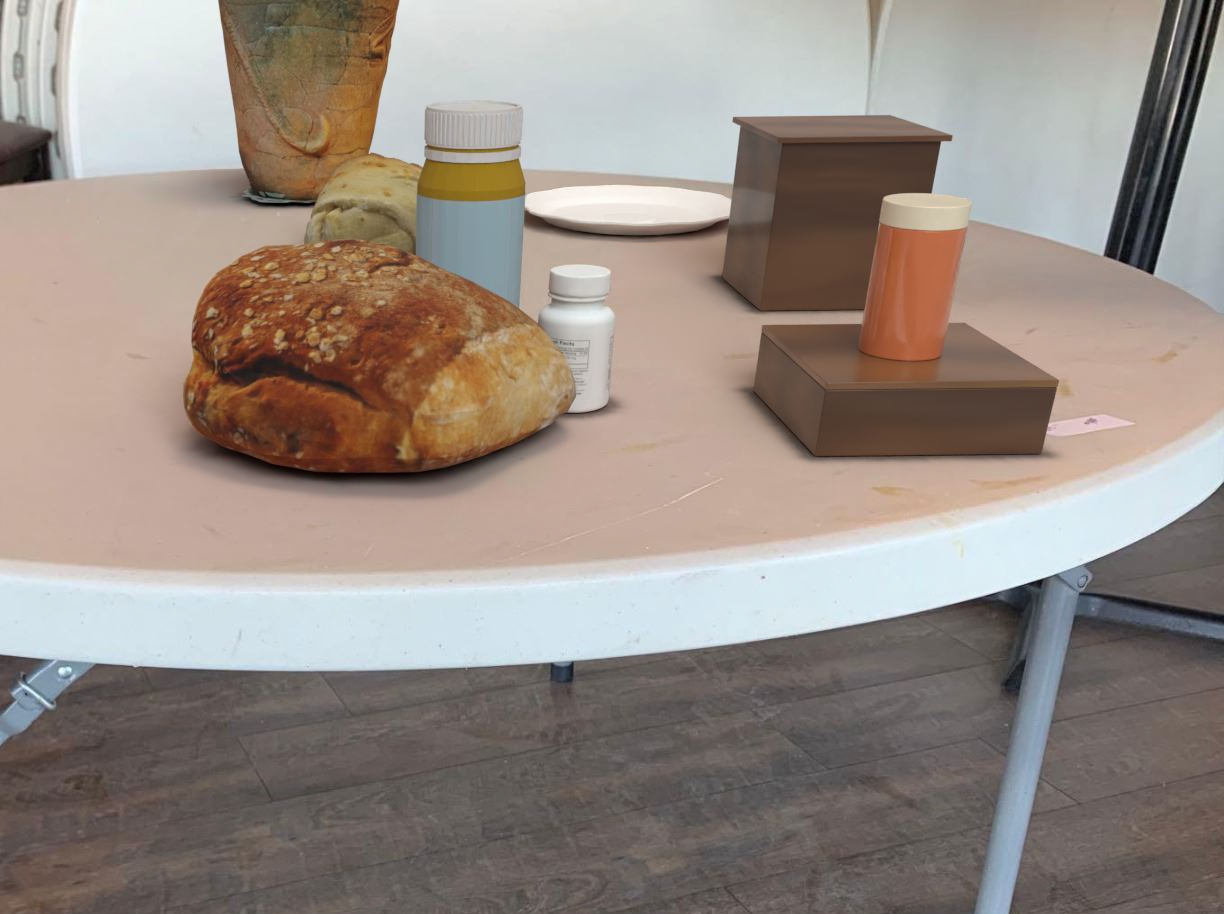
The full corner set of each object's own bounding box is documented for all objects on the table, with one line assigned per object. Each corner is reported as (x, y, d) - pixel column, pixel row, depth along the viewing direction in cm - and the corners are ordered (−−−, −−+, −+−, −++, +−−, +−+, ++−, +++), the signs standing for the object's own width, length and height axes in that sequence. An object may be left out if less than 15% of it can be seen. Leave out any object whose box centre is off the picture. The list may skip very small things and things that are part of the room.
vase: (438, 208, 141) (448, -135, 127) (240, 218, 137) (228, -135, 123) (386, 177, 159) (389, -127, 145) (210, 185, 156) (196, -126, 142)
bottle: (475, 361, 91) (485, 114, 84) (393, 343, 95) (395, 106, 88) (537, 340, 96) (551, 104, 88) (456, 324, 100) (463, 97, 93)
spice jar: (957, 351, 77) (988, 200, 73) (914, 365, 75) (944, 210, 71) (885, 336, 80) (911, 190, 77) (841, 349, 78) (866, 199, 74)
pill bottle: (573, 388, 86) (583, 258, 82) (623, 405, 82) (636, 271, 79) (517, 400, 84) (525, 267, 80) (567, 418, 80) (577, 281, 77)
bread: (350, 366, 90) (350, 205, 86) (612, 412, 81) (628, 234, 76) (140, 453, 76) (125, 264, 71) (430, 522, 66) (436, 310, 62)
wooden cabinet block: (920, 310, 102) (953, 135, 96) (754, 312, 102) (778, 137, 96) (863, 274, 112) (890, 114, 107) (713, 276, 112) (732, 116, 107)
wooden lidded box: (1041, 454, 74) (1059, 379, 72) (814, 456, 74) (826, 382, 72) (951, 388, 85) (965, 322, 83) (752, 390, 85) (761, 324, 83)
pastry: (409, 233, 130) (411, 141, 126) (479, 258, 120) (483, 159, 116) (270, 248, 125) (267, 152, 121) (331, 274, 115) (330, 171, 111)
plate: (784, 221, 133) (787, 203, 132) (645, 251, 121) (647, 231, 121) (612, 194, 147) (614, 178, 146) (472, 219, 135) (473, 201, 135)
